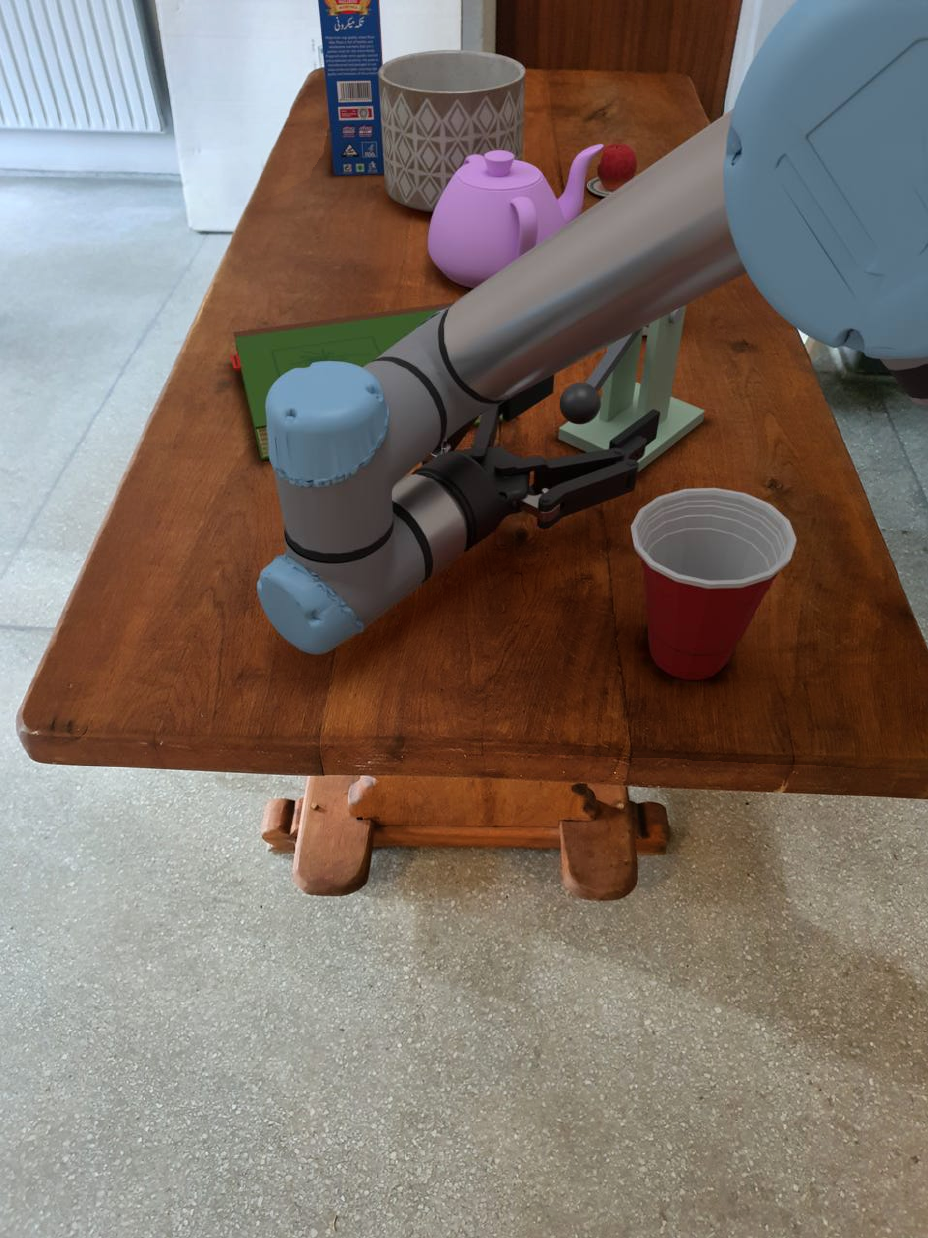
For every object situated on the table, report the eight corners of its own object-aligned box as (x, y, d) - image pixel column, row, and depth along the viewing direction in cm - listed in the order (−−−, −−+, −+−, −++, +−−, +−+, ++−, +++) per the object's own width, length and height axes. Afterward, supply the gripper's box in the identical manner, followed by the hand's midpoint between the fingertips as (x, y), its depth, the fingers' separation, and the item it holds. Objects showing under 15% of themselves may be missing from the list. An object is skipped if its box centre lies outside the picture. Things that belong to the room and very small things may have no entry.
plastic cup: (653, 584, 77) (676, 462, 69) (780, 639, 72) (821, 515, 64) (586, 664, 71) (602, 540, 62) (720, 729, 66) (757, 606, 58)
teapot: (630, 290, 114) (646, 171, 105) (462, 320, 109) (462, 197, 99) (556, 222, 129) (564, 112, 120) (405, 245, 124) (400, 132, 114)
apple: (608, 204, 134) (613, 155, 129) (576, 186, 139) (579, 138, 134) (653, 193, 136) (659, 145, 132) (620, 176, 141) (625, 129, 137)
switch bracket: (634, 475, 88) (657, 327, 77) (557, 439, 92) (569, 293, 82) (703, 421, 94) (732, 277, 84) (628, 389, 98) (647, 249, 88)
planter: (418, 235, 126) (412, 99, 115) (366, 186, 139) (356, 59, 127) (544, 210, 132) (552, 79, 121) (484, 165, 145) (485, 43, 133)
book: (454, 333, 107) (454, 301, 104) (505, 420, 94) (506, 387, 92) (232, 365, 102) (226, 333, 100) (253, 461, 89) (247, 428, 87)
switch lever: (589, 438, 83) (580, 416, 80) (557, 423, 85) (547, 401, 82) (677, 312, 85) (672, 285, 82) (644, 299, 86) (637, 273, 83)
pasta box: (387, 173, 142) (375, -51, 123) (334, 175, 142) (313, -50, 122) (385, 114, 162) (374, -88, 143) (338, 115, 162) (321, -87, 142)
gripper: (338, 493, 82) (501, 392, 94) (551, 617, 71) (705, 485, 82) (329, 419, 77) (503, 321, 88) (557, 540, 66) (721, 410, 77)
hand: (601, 400), depth 85 cm, fingers open, 11 cm apart
